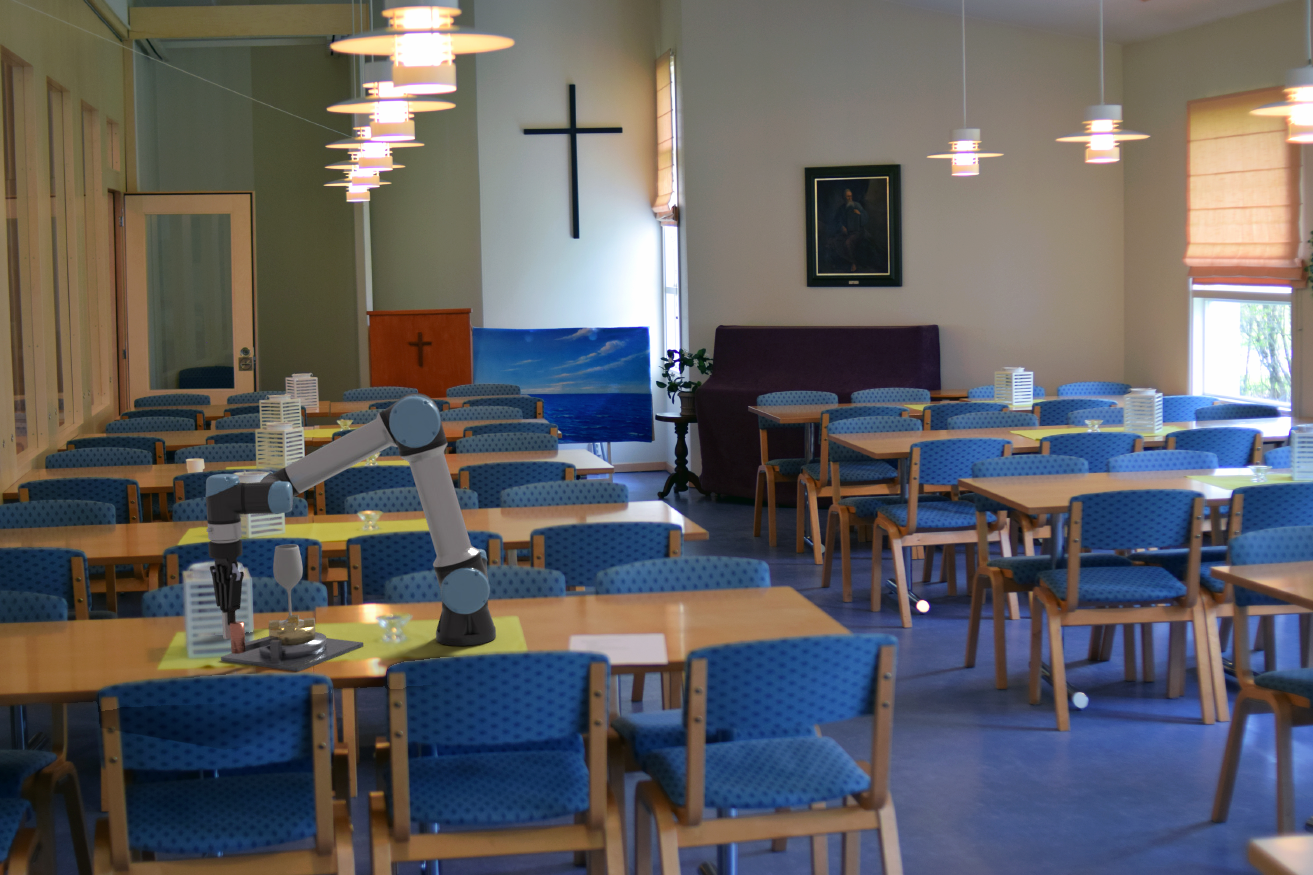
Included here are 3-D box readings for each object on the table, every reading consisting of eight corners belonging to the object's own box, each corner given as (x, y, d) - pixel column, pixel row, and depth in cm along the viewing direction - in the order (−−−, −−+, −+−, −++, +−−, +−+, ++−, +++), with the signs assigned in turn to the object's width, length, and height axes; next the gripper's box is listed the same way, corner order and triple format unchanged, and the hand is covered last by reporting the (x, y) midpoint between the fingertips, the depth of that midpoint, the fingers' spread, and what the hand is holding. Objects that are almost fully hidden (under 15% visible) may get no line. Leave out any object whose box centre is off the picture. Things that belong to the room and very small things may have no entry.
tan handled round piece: (295, 630, 330) (294, 601, 329) (325, 636, 324) (323, 607, 323) (218, 651, 311) (216, 621, 310) (248, 658, 305) (246, 627, 304)
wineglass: (276, 627, 349) (272, 550, 347) (276, 620, 356) (272, 544, 354) (305, 625, 351) (301, 548, 349) (305, 618, 358) (301, 543, 356)
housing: (363, 646, 328) (362, 622, 328) (298, 671, 307) (297, 646, 306) (289, 637, 339) (287, 614, 338) (220, 660, 317) (219, 636, 317)
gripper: (197, 538, 311) (202, 635, 313) (222, 545, 302) (227, 645, 304) (227, 534, 316) (232, 629, 319) (252, 541, 307) (257, 639, 309)
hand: (229, 637), depth 311 cm, fingers closed
